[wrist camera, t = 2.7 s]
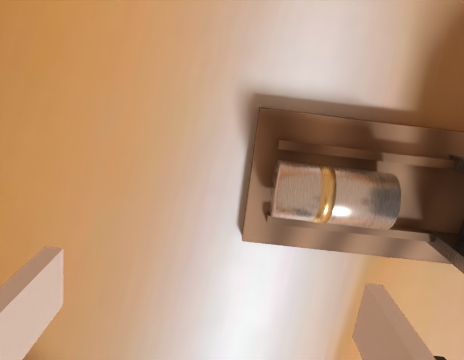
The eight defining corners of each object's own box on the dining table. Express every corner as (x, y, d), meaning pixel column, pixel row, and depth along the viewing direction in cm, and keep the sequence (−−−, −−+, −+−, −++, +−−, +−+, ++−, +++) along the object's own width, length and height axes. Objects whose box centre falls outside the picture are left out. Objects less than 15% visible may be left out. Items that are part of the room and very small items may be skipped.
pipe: (268, 206, 36) (274, 226, 31) (276, 154, 34) (283, 167, 30) (370, 217, 36) (392, 240, 31) (382, 166, 35) (407, 181, 30)
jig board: (242, 236, 38) (242, 245, 36) (259, 107, 35) (261, 109, 33) (545, 269, 39) (563, 280, 37) (592, 147, 36) (615, 151, 34)
